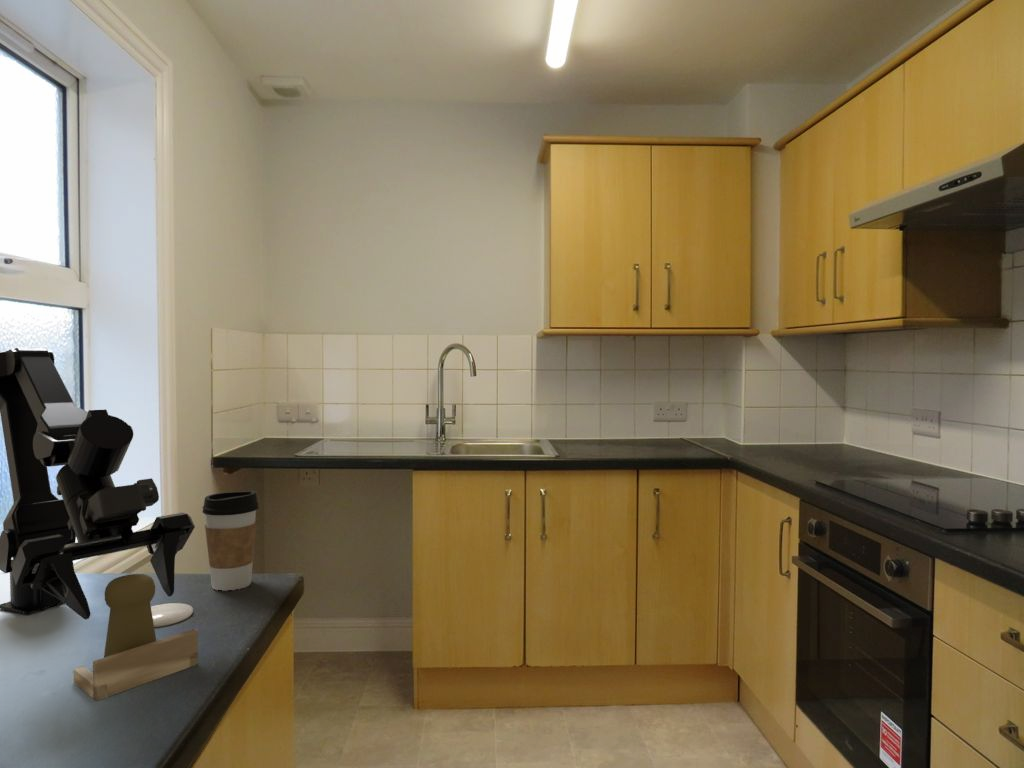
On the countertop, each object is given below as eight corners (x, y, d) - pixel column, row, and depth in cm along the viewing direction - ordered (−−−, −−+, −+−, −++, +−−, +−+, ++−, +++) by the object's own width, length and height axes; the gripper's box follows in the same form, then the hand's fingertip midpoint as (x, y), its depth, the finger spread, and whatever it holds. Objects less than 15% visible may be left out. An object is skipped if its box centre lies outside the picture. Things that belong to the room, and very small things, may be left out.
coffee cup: (239, 595, 103) (238, 499, 102) (191, 591, 104) (190, 497, 104) (269, 578, 111) (268, 489, 110) (224, 574, 112) (223, 487, 112)
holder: (73, 682, 75) (73, 647, 75) (172, 649, 83) (172, 618, 83) (97, 700, 71) (96, 664, 71) (198, 663, 79) (198, 631, 79)
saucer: (115, 622, 92) (115, 619, 92) (165, 602, 99) (165, 600, 99) (157, 631, 89) (157, 628, 89) (205, 610, 96) (205, 607, 96)
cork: (97, 685, 74) (95, 588, 74) (106, 662, 80) (104, 572, 79) (157, 675, 77) (156, 581, 76) (162, 653, 82) (161, 566, 82)
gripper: (17, 469, 73) (56, 589, 67) (186, 451, 88) (231, 548, 81) (-3, 529, 78) (31, 645, 72) (160, 503, 93) (200, 597, 86)
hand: (131, 605), depth 78 cm, fingers open, 9 cm apart
